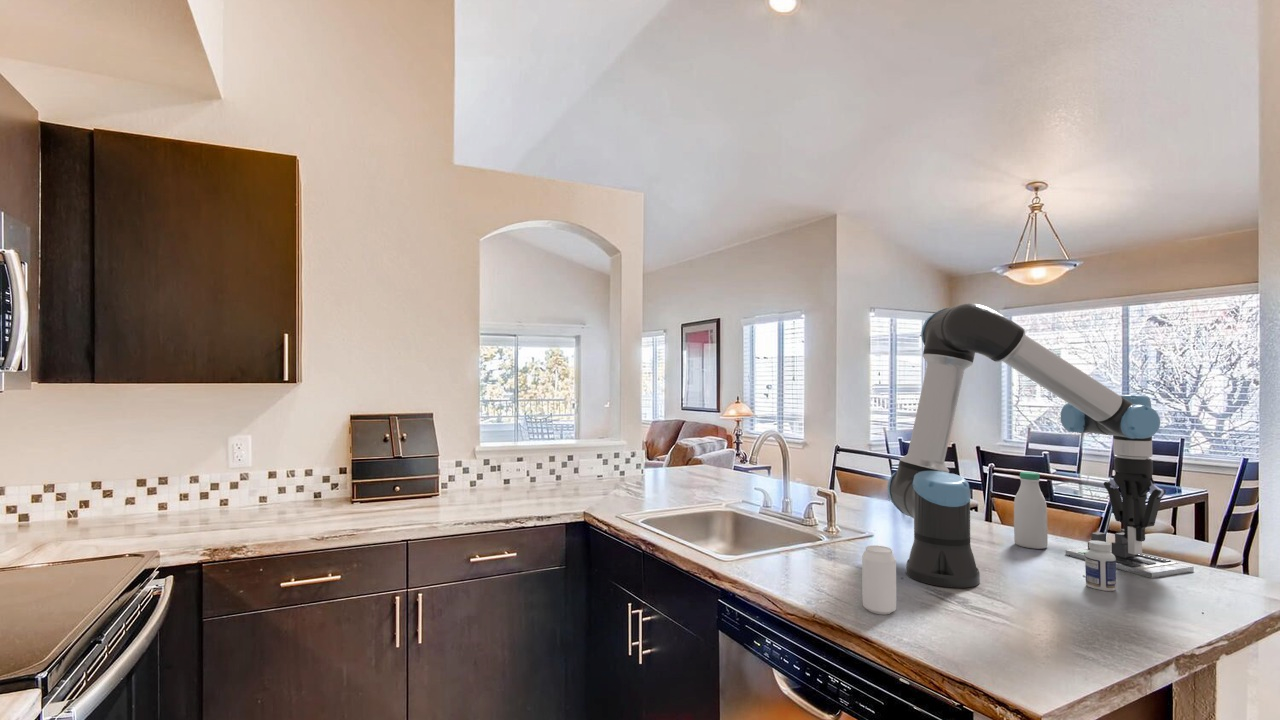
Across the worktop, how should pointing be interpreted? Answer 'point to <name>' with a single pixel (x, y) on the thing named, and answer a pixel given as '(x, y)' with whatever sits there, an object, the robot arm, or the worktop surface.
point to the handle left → (1097, 537)
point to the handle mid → (1120, 546)
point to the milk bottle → (1030, 513)
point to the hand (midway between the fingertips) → (1135, 553)
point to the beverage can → (879, 580)
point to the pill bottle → (1100, 566)
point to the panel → (1141, 564)
